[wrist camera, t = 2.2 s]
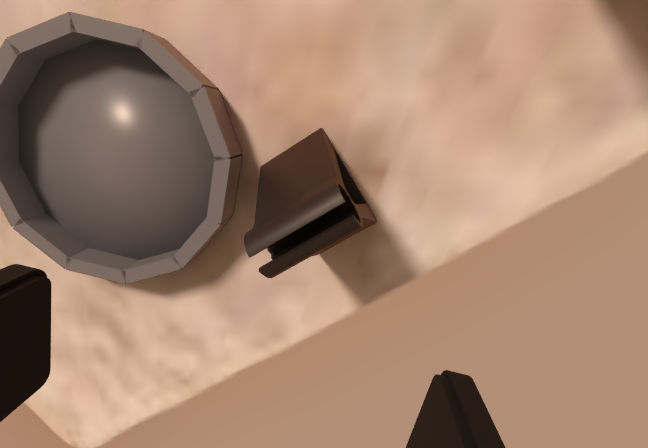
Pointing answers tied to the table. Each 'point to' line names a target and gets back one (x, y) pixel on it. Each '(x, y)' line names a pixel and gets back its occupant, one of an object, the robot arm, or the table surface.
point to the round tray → (112, 148)
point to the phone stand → (305, 205)
